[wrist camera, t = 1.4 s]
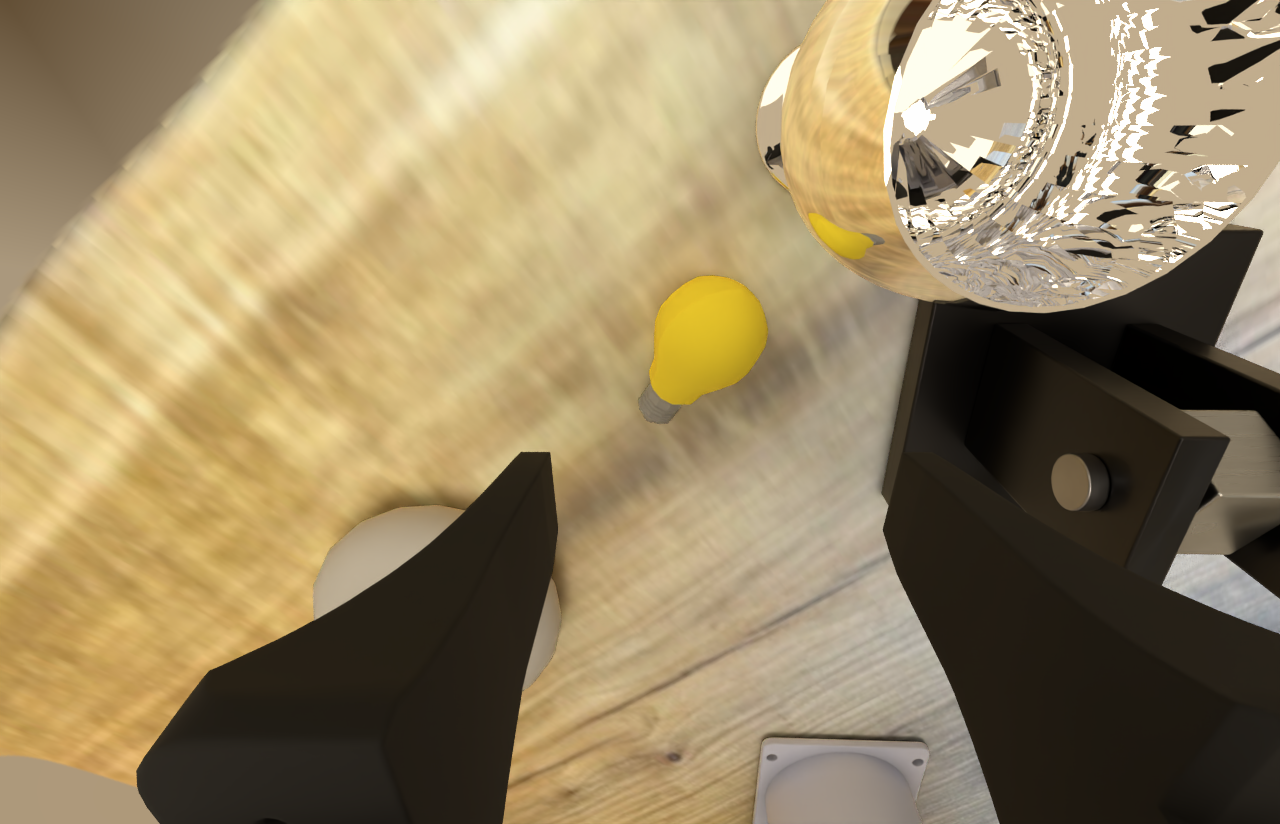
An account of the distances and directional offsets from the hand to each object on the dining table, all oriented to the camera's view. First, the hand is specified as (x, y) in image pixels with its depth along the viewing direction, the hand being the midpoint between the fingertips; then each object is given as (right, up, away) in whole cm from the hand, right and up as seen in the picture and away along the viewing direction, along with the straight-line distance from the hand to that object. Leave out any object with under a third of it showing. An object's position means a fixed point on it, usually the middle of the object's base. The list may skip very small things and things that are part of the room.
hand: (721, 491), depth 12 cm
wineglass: (+4, +10, +5) cm, 12 cm away
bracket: (+12, +3, +8) cm, 15 cm away
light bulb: (0, +4, +9) cm, 9 cm away
